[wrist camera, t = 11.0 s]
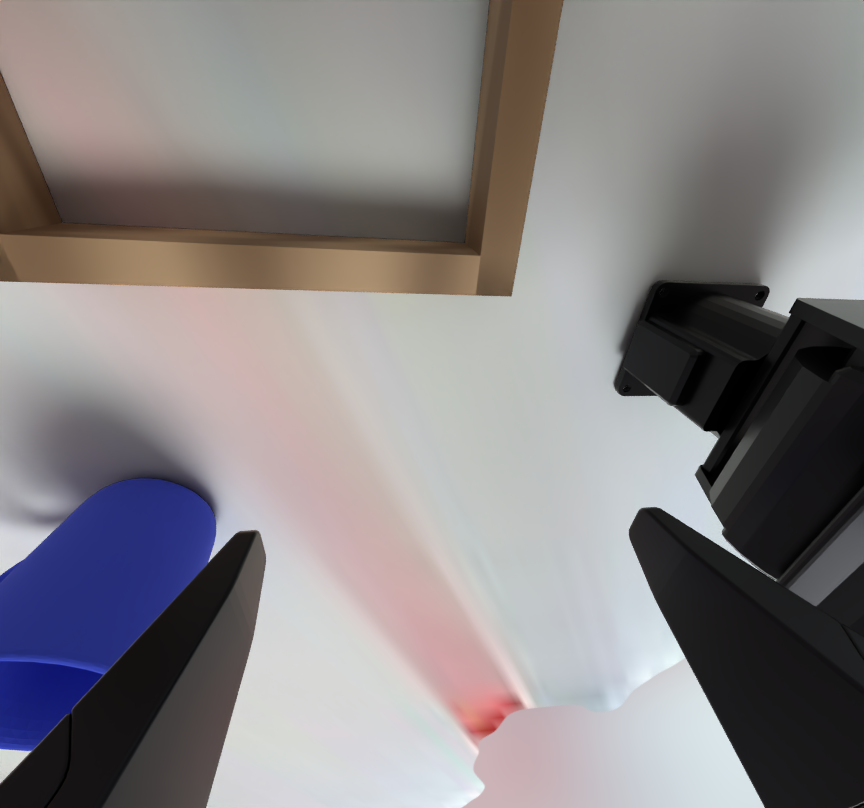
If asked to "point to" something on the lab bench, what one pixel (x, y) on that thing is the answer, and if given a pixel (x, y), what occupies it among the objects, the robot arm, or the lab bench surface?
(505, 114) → the cradle
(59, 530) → the mug
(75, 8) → the lab bench surface
